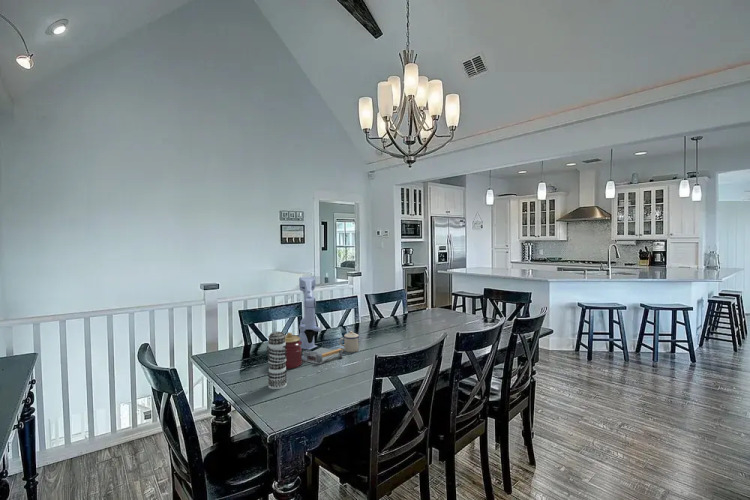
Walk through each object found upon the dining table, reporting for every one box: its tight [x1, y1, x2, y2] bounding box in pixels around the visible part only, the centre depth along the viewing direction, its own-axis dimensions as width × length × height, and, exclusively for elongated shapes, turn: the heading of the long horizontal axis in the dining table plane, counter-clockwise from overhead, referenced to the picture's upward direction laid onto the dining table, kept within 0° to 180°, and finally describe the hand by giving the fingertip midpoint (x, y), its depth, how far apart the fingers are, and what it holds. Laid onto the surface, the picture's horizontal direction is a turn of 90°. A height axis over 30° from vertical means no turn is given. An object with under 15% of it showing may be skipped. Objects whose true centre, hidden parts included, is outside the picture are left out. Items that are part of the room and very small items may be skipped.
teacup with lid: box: [338, 330, 360, 353], centre depth 232 cm, size 12×9×12 cm
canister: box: [285, 332, 303, 369], centre depth 207 cm, size 13×13×18 cm
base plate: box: [302, 347, 344, 365], centre depth 219 cm, size 21×22×4 cm
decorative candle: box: [266, 331, 288, 390], centre depth 179 cm, size 9×9×25 cm
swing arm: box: [316, 347, 346, 362], centre depth 214 cm, size 20×3×4 cm, turn 136°
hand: (310, 342), depth 220 cm, fingers closed
